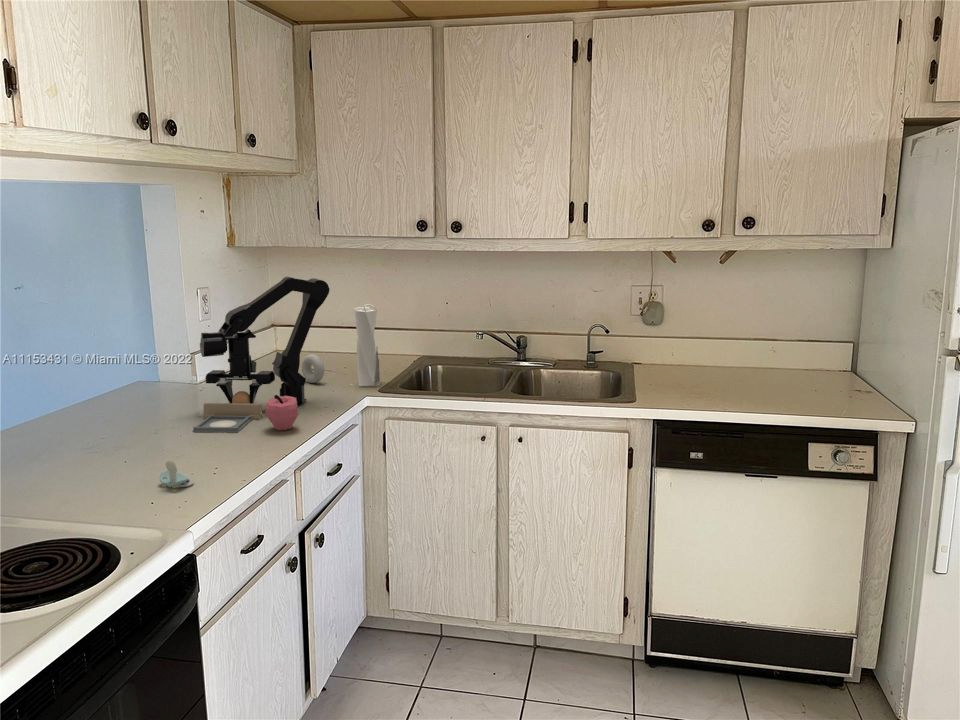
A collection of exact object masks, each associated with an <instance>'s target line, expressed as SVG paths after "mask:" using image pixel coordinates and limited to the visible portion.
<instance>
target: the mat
mask: <svg viewBox="0 0 960 720" xmlns="http://www.w3.org/2000/svg"><path fill="white" fill-rule="evenodd" d="M252 420H253V419H252V418H251V416H208V418H206V419H204V420H202V421H201V422H199V423H198V424H197V425H195V426H193V429H192V433H213V432H223V433H224V432H225V434H226V433H227V434H231V433H232V434H234V433H235V434H238V433H239V432H240V431H242V429H244V428H245V427H246V426H247V425H248V424H249V423H250V422H251V421H252ZM245 425H246V426H245ZM244 426H245V427H244ZM243 427H244V428H243Z"/></svg>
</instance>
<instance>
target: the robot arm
mask: <svg viewBox="0 0 960 720" xmlns="http://www.w3.org/2000/svg"><path fill="white" fill-rule="evenodd" d="M330 291H331V289H330V287H329V284H328V283H327V281H325V280H323V279H318V278H312V277H311V278H310V279H307V280H306V279H301V278H294V277H292V276H284V277H283V278H282V279H281V280H280V281H279V282H277V283H276V284H274V285H273V286H271V287H269V288H268V290H266V291H264V292H263V293H262V294H260V295H259V296H257V297H256V298H254V299H253V300H252V301H250V302H248V303H245V304H242V305H240V306H237V307H235V308H233V309H231V310H229V311H228V312H227V313H226V314H225V318H224V323H223V324H222V325H221V327H220V329H219V330H218V332H201V334H200V336H201V337H200V342H199V349H200V350H199V351H200V355H201V357H202V358H206V357H218V356H224V355H225V353H226V354H227V351H228V358H227V363H228V364H229V365H228V366H229V372H228V373H226V371H225V370H224V369H212V370H211V371H209V372H208V373H207V374H205V378H204V379H205V384H215V386H216V387H219V388H220V390H221V391H222V392H223V394H224V395H225V397H226V398H227V400H228V403H232V398H233V396H234V394H233V381H251V382H252V383H250V384H249V387H248V389H249V395H250V404H255V402H256V401H255V399H256V397H257V394H258V391H259V389H260V387H262V386H263V385H271V384H272V383H273V382H274V381H276V377H278V378H279V379H280V382H282V383H281V384H280V388H279V396H291V397H294V398H296V401H297V407H299V406H302V405H303V404H304V403H306V402H307V398H305V397H306V395H305V384H306V381H307V380H306V378H305V377H304V376H303V374H301V373H300V372H299V370H300V364H301V363H300V361H301V353H302V350H303V347H304V344H305V342H306V339H307V337H308V334H309V331H310V329H311V326H312V324H313V322H314V321H313V320H314V318H315V316H316V314H317V311H318V309H319V308H320V307H321V306H322V305H323V304H324V303H325V301H326V299H327V297H328V295H329V294H330ZM292 292H297V293H302V305H301V308H300V311H299V313H298V316H297V318H296V320H295V323H294V326H293V328H292V331H291V334H290V337H289V339H288V341H287V345H286V347H285V348H284V350H282V352H279V351H277V352H276V354H275V357H274V361H273V362H272V363H271V364H272V365H273V367H272V368H273V370H260V371H259V372H258V373H256V372H257V361H255V360H252V355H251V353H250V339H255V338H257V336H256V334H254V332H252V330H251V329H249V327H250V326H252V325H253V324H254V323H255V321H256V320H257V318H258V317H259V316H260V315H261V314H262V313H264V312H265V311H266V310H268V309H269V308H270V307H272V306H273V305H275V304H276V303H277V302H279V301H280V300H282V299H283V298H284V297H286V296H287V295H289V294H290V293H292Z"/></svg>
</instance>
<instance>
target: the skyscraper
mask: <svg viewBox="0 0 960 720" xmlns="http://www.w3.org/2000/svg"><path fill="white" fill-rule="evenodd" d="M370 307H373V309H371V308H370ZM353 313H354V322H355V329H356V334H357V339H356V341H357V342H356V367H357V380H358V382H357V383H358V388H380V387H381V375H380V374H381V373H380V358H379V351H378V346H376V341H375V336H374V335H375V329H376V328H375V327H376V321H377V308H376V307H375V305H373V304H371V303H365V304H364V305H363V306H358V307H355V308H354V309H353Z"/></svg>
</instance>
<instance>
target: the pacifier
mask: <svg viewBox="0 0 960 720" xmlns="http://www.w3.org/2000/svg"><path fill="white" fill-rule="evenodd" d="M165 468H166V470H167V471H163V472H161V473H160V474H159V476H158V479H159V482H160V483H161V484H164V485H167V487H169V488H171V487H172V489H177V488H176V487H180V488H186V487H191V486H192V485H194V479H192V478H190V477H188V476H186V475H184V474H181V473H179V472H178V469H177V466H176V464H175V462H174V461H173V460H172V459H171V458H168V459H167V460H166V462H165ZM185 482H187V483H185Z"/></svg>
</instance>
